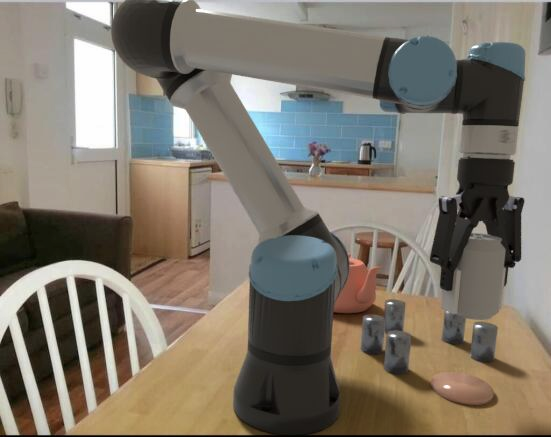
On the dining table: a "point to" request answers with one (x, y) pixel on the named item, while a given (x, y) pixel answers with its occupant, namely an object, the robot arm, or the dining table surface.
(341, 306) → the teapot
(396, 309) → the chrome peg cluster
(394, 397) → the dining table surface
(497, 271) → the can
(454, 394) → the pink flat disc
